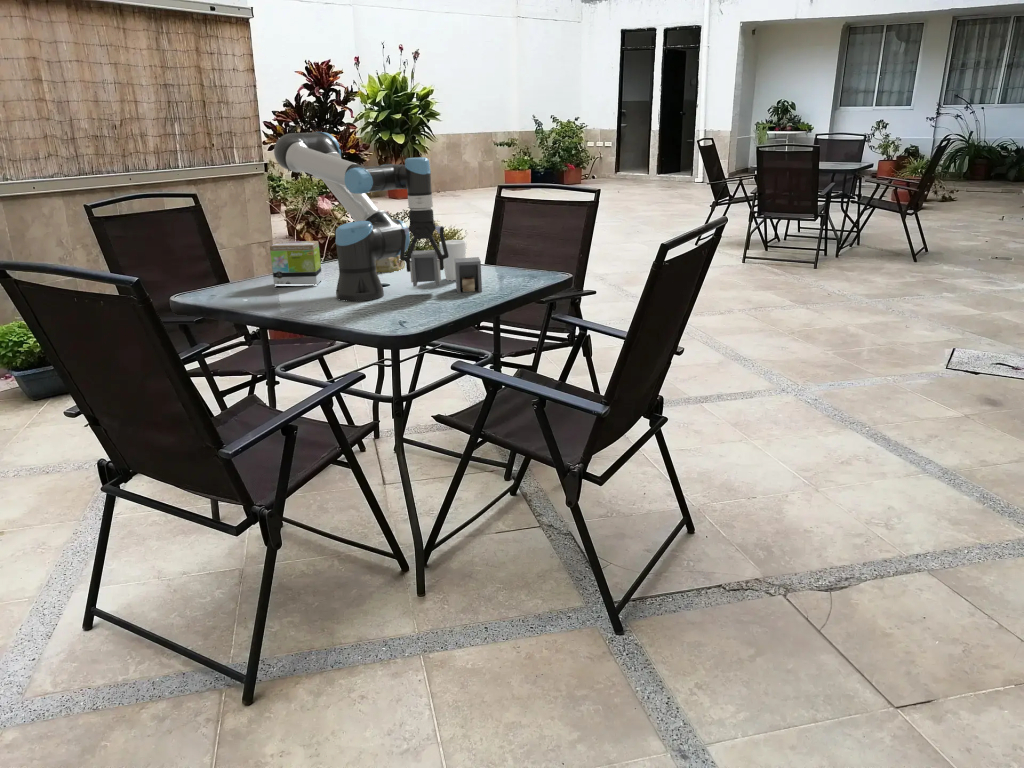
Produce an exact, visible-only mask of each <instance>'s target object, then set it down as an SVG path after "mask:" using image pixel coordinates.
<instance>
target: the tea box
mask: <svg viewBox="0 0 1024 768" xmlns="http://www.w3.org/2000/svg"><path fill="white" fill-rule="evenodd" d="M269 252H270V253H269V254H270V262H271V270H272V279H273V285H274V284H314V285H315V284H318V283H319V282H320V281H321V280H322V281H323V274H322V264H321V254H320V244H319V241H318V240H307V241H306V240H304V241H302V240H301V241H299V240H298V241H297V240H295V241H275V243H273V244H272V245H269ZM322 281H321V282H322ZM321 282H320V283H321ZM320 283H319V284H320Z"/></svg>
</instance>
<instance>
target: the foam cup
mask: <svg viewBox="0 0 1024 768" xmlns="http://www.w3.org/2000/svg"><path fill="white" fill-rule="evenodd" d="M445 242H446V246H447V250H448V254H449V256H448V258H445V259H444V260H443V263H444V269H443V270H444V276H445V280H446V281H449V280H451V281H452V282H454V281H453V280H456V275H455V258H467V257H466V256H467V255H466V254H467V249H468V248H467V240H463V239H449V240H445ZM438 244H439V250H440V252H441V254H442V255H443V254H444V251H443V247H442V243H441V241H439V243H438Z"/></svg>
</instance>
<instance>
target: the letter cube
mask: <svg viewBox="0 0 1024 768" xmlns="http://www.w3.org/2000/svg"><path fill="white" fill-rule="evenodd" d="M462 287H463V289H462V292H463V291H466V292H476V288H475V281H474V277H462Z"/></svg>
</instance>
